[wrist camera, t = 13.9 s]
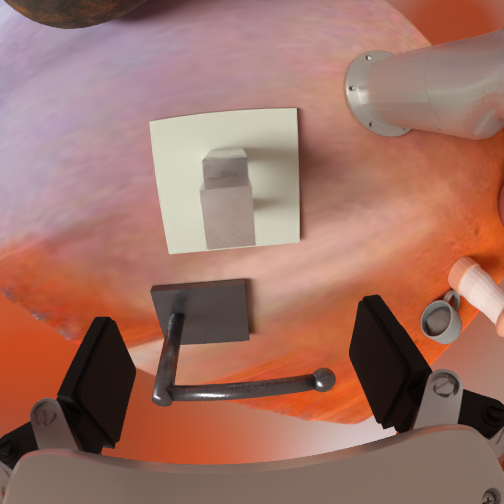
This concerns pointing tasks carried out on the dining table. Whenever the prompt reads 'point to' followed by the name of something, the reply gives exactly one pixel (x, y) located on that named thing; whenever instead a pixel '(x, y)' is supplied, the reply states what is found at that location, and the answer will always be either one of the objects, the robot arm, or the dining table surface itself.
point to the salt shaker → (478, 290)
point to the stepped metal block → (227, 200)
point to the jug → (73, 11)
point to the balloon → (501, 205)
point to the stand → (213, 331)
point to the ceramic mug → (442, 319)
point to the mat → (259, 170)
